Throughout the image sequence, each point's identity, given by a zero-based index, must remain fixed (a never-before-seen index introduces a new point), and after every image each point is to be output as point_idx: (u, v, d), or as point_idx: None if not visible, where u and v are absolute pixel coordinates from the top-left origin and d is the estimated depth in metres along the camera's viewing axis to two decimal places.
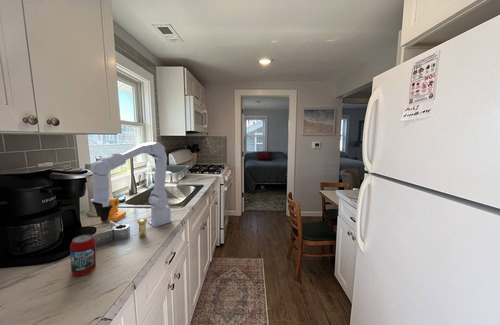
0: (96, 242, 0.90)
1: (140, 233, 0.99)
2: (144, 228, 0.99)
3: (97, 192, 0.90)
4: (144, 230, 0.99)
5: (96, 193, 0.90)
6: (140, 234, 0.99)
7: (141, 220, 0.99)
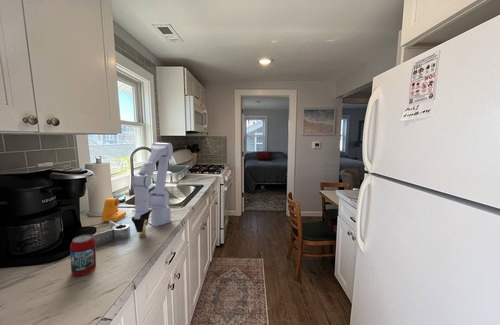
0: (96, 242, 0.90)
1: (140, 233, 0.99)
2: (144, 228, 0.99)
3: (136, 203, 0.96)
4: (144, 230, 0.99)
5: (135, 204, 0.96)
6: (140, 234, 0.99)
7: None
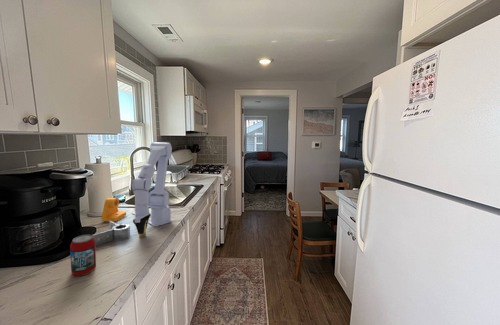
0: (96, 242, 0.90)
1: None
2: None
3: (136, 207, 0.96)
4: (144, 230, 0.99)
5: (135, 207, 0.96)
6: (140, 234, 0.99)
7: None
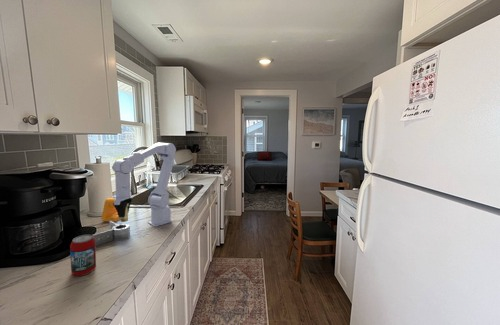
0: (96, 242, 0.90)
1: (121, 217, 0.96)
2: (125, 212, 0.97)
3: (116, 189, 0.94)
4: (126, 214, 0.97)
5: (116, 190, 0.94)
6: (122, 217, 0.96)
7: None
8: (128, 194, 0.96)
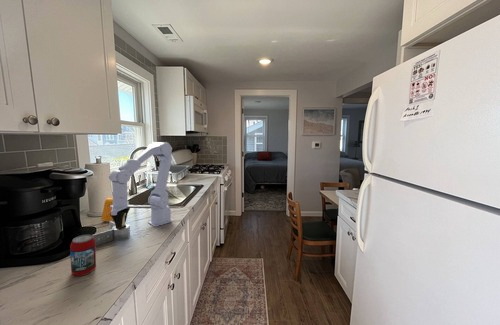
0: (96, 242, 0.90)
1: None
2: (123, 221, 0.97)
3: (113, 199, 0.94)
4: (123, 223, 0.97)
5: (113, 200, 0.94)
6: (119, 227, 0.97)
7: None
8: (125, 204, 0.96)
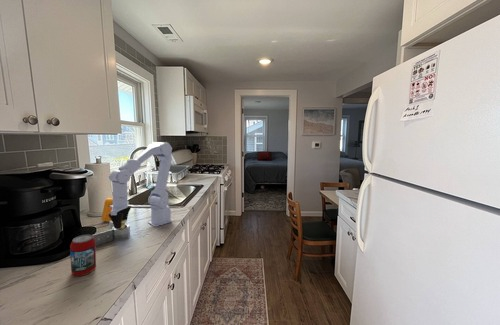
0: (96, 242, 0.90)
1: None
2: None
3: (113, 199, 0.94)
4: None
5: (113, 200, 0.94)
6: None
7: None
8: (125, 204, 0.96)
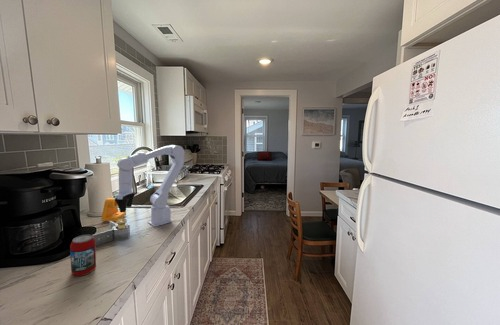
0: (96, 242, 0.90)
1: None
2: None
3: (119, 185, 1.02)
4: None
5: (119, 186, 1.02)
6: None
7: (120, 220, 0.98)
8: (130, 190, 1.04)
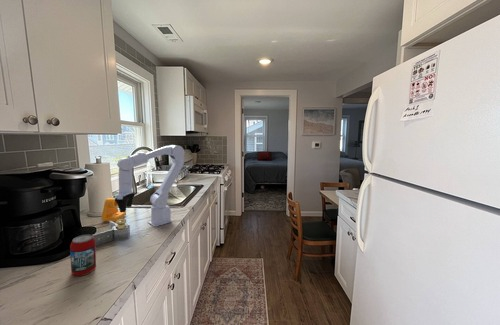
0: (96, 242, 0.90)
1: None
2: None
3: (119, 185, 1.02)
4: None
5: (119, 186, 1.02)
6: None
7: (120, 221, 0.97)
8: (130, 190, 1.04)
